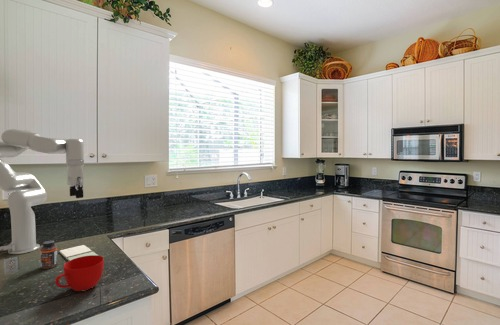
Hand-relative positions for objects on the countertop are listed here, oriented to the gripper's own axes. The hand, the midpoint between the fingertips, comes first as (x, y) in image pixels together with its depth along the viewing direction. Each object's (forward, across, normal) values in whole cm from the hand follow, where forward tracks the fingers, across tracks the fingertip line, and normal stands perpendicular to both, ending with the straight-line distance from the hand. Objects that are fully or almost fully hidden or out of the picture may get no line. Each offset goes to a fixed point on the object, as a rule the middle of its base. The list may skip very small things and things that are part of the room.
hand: (76, 196), depth 135 cm
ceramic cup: (+29, +43, -12) cm, 53 cm away
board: (+29, +8, -1) cm, 30 cm away
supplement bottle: (+29, +10, -14) cm, 34 cm away
